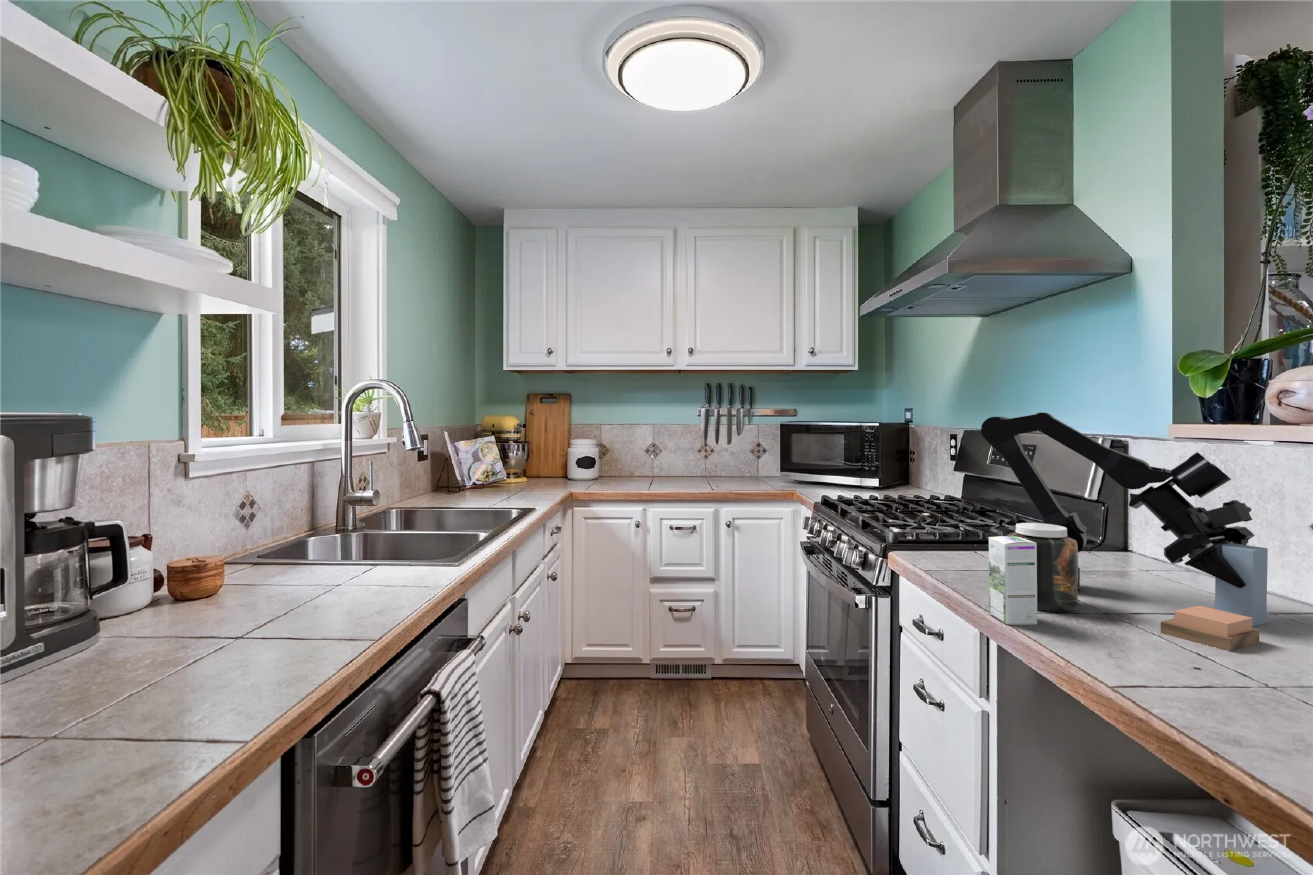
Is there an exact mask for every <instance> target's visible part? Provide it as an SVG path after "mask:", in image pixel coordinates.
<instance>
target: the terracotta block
mask: <svg viewBox="0 0 1313 875" xmlns="http://www.w3.org/2000/svg"><path fill="white" fill-rule="evenodd" d="M1173 612H1174V614H1173V615H1174V617H1173V618H1174V623H1176V624H1180V625H1184V626H1188V627H1192V628H1196V629H1199V630H1203V631H1207V632H1211V633H1215V634H1218V635H1222V636H1226V637H1229V636H1232V635H1236V634H1240V633H1244V632H1248V631H1252V629H1253V627H1252V622H1253V618H1251V617H1247V616H1242V615H1238V614H1234V613H1229V612H1225V611H1221V610H1216V609H1215V608H1211V607H1207V606H1204V605H1196V606H1191V607H1186V608H1183V609H1182V608H1181V609H1177V610H1174V611H1173Z"/></svg>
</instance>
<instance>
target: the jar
mask: <svg viewBox="0 0 1313 875" xmlns="http://www.w3.org/2000/svg"><path fill="white" fill-rule="evenodd" d="M1006 536H1015V537H1020V538H1023V539H1026V540H1029V541H1032V542H1035V543H1037V611H1040V612H1046V613H1048V612H1049V613H1070V612H1071V613H1072V612H1075V611H1078V607H1079V592H1078V588H1079V587H1078V567H1079V552H1078V546H1077V542H1076V540H1074V539H1072V538H1070V537H1067V536H1068V535H1067V528H1066V527H1063V526H1058V525H1052V524H1044V523H1043V522H1042V523H1041V522H1040V523H1039V522H1020V523H1016V524H1015V531H1014V532H1011V533H1008V534H1007V535H1006Z"/></svg>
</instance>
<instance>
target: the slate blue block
mask: <svg viewBox="0 0 1313 875" xmlns="http://www.w3.org/2000/svg"><path fill="white" fill-rule="evenodd" d="M1268 549H1269V548H1268V547H1261V546H1254V545H1241V544H1234V543H1228V544H1222V555H1223V557H1224V558H1225V559H1226V561H1227V562H1228V563H1229V564H1230V565H1231V567H1232V568H1233V569H1234V570H1235V571H1236V572H1237V574H1238V575H1239V576H1240V577H1241V579H1242V580H1243V581H1244V583H1245V584H1246V586H1244V587H1242V588H1238V587H1236V586H1233V585H1231V584H1229V583H1227V582H1225V581H1223V580H1221V579H1218V578H1216V577H1215V581H1214V588H1215V589H1214V609H1216V610H1221V611H1225V612H1229V613H1234V614H1238V615H1242V616H1247V617H1251V618H1253V622H1252V628H1253V627H1256V626H1259V625H1264V624H1267V605H1268V604H1267V601H1268V598H1267V597H1268V563H1269V562H1268V554H1269V553H1268V551H1269V550H1268Z"/></svg>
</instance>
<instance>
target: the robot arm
mask: <svg viewBox="0 0 1313 875" xmlns="http://www.w3.org/2000/svg"><path fill="white" fill-rule="evenodd" d="M1035 432H1041V433H1043V434H1044V435H1046V436H1047V437H1049V438H1050V439H1052V440H1054V441H1056V442H1058V443H1059V444H1060V445H1061V444H1062V446H1065V447H1067V448H1068V449H1070V450H1072V451H1074V452H1075V453H1077V454H1079V455H1080V456H1082V457H1083V458H1086V460H1089V462H1092V463H1093V464H1095V465H1096V466H1097V467H1098V468H1100V470H1102V471H1103V472H1104V473H1105V474H1106V475H1107V476H1108V477H1110V478H1111V479H1112V480H1113V481H1115V482H1116V483H1117V484H1118V485H1120V487H1122V488H1125V489H1128V490H1140V489H1142V488H1145V487H1146V486H1148V484H1158V483H1161V484H1160V485H1158V486H1156V487H1155V486H1153V485H1151V486H1149V487H1147V488H1146V489H1144V490H1143V491H1141V492H1139V493H1129V497H1130V498H1129V502H1128V506H1129V507H1130V508H1133V509H1136V510H1137V509H1139V508H1141V507H1142V506H1144V507H1146V508H1147V509H1148V510H1149V512H1150V513H1152V514H1153V516H1155V517H1156V518H1157V519H1158V520H1159V521H1160V522H1161V523H1162V525H1161V526H1160V528H1161V529H1162V531H1164V532H1171V534H1173V536H1175V537H1176V538H1177V539H1176V540H1174V541H1173V542H1171V543H1170V544H1168V545H1167V546H1165V547H1164V548H1163V556H1164V557H1165V558H1166V559H1167V560H1168V561H1169V563H1170V564H1172V565H1175V564H1181V563H1182V562H1183V561H1184V558H1185V557H1186V556H1187V557H1188V558H1189V559H1188V560H1187V561H1186V562H1184V565H1185V566H1187V567H1191V568H1194V569H1197V570H1198V571H1199V572H1200V571H1201V572H1203V573H1206V574H1208V575H1209V576H1212V577H1216V578H1218V579H1221V580H1223V581H1225V582H1227V583H1229V584H1231V585H1233V586H1236V587H1238V588H1242V587H1244V586H1246V584H1245V583H1244V581H1243V580H1242V579H1241V577H1240V576H1239V575H1238V574H1237V572H1236V571H1235V570H1234V569H1233V568H1232V567H1231V565H1230V564H1229V563H1228V562H1227V561H1226V559H1225V558H1224V557H1223V555H1222V544H1228V543H1234V544H1241V545H1247V544H1248V543H1249V541H1250V540H1251V539H1253V538H1254V537H1255V534H1254V533H1253V532H1252V531H1251V530H1250V529H1248V528H1247V527H1246V526H1239V525H1237V526H1235V525H1234V526H1228V525H1233V524H1237V523H1242V522H1243V523H1244V522H1245V523H1246V522H1250V521H1253V518H1252V516H1251V514H1250V513H1251V512H1252V508H1251V507H1249V506H1248V505H1247V504H1246V503H1245V502H1240V501H1239V500H1237V499H1235V500H1230V501H1225V502H1223V503H1222V506H1220V507H1217V508H1213V509H1210V510H1209V509H1208V510H1207V509H1206V508H1204V507H1201V506H1197V507H1195V506H1194V505H1193V504H1192V503H1191V502H1190V501H1189V500H1188V499H1187V498H1185V497H1184V496H1183V495H1182V494H1181V493H1180V492H1179V491H1178V490H1177V489H1176V488H1175V487H1174V486H1177V488H1179V489H1180V490H1181V491H1182V492H1183V493H1184V494H1185V495H1186V496H1188V497H1189V498H1192V497H1195V496H1198V497H1199V498H1203V497H1205V496H1207V495H1208V494H1209V493H1210V494H1211V492H1213V491H1215V490H1216V489H1218V488H1220V487H1222V486H1223V485H1225V484H1227V483H1228V482H1229V481H1231V480H1232V478H1231V477H1229V476H1228V475H1227V474H1226V473H1225V472H1224V471H1223V470H1222V469H1220V468H1219V467H1218V466H1217V465H1215V463H1212V462H1210V461H1209V460H1208V459H1207V458H1205V457H1204V456H1203V455H1202V454H1200V452H1198V451H1197V452H1194V453H1193V454H1192V455H1190V456H1189V457H1188V458H1187V459H1186V460H1184V461H1183V462H1181V463H1179V465H1177V466H1175V467H1174V468H1172V469H1167V468H1165V467H1163V468H1162V467H1156V466H1150V464H1149V463H1148V462H1146V460H1143V459H1141V458H1137V457H1135V456H1134V455H1133V456H1132V455H1130V454H1126V453H1125V452H1121V451H1118V450H1116V449H1112V448H1110V447H1107V446H1105V445H1104V444H1101V442H1098V441H1096V440H1094V439H1093V438H1091V437H1090V436H1087V435H1086V434H1084V433H1082V432H1080V431H1078V430H1076V429H1075V428H1073V427H1072V426H1070V425H1068V424H1066V423H1064V422H1062V421H1061V420H1059V419H1057V418H1055V417H1054V416H1053V415H1052V414H1051V413H1048V412H1036V413H1034V414H1029V415H1025V416H1018V417H1011V418H1009V417H1007V416H990V417H988V418H986V419H985V420H984V421H983V422H982V424H981V427H980V434H981V436H982V437H983V439H984V440H985V441H986V442H987V443H988V444H989V446H991V447H992V448H993V449H994V450H995V451H996V452H997V453H998V454H999V455H1000V456H1001V457H1002V458H1003V459H1004V460H1005V461H1006V463H1007V465H1008V466H1009V468H1010V469H1011V471H1012V472H1013V474H1014V475H1015V477H1016V478H1017V480H1018V482H1019V484H1021V486H1022V488H1023V489H1024V491H1025V493H1026V494H1027V496H1028V497H1029V499H1030V500H1031V502H1032V503H1033V505H1034V507H1035V509H1036V510H1037V512H1038V513H1039V515H1040V516H1041V519H1042V523H1043V524H1052V525H1058V526H1063V527H1066V528H1067V535H1068V536H1067V537H1070V538H1072V539H1074V540H1076V542H1077V546H1078V553H1080V552H1081V551H1082V549H1084V547H1085V545H1086V544H1087V541H1088V535H1087V533H1086V531H1087V530H1088V528H1087V526H1085V525H1084V524H1083V522H1082V521H1081V519H1080V517H1079V515H1078V513H1077V511H1073V512H1072V513H1070V514H1069V513H1068V512H1067V511H1066V510H1065V509H1064V508H1063V507H1062V506H1061V505H1060V503H1059V502H1058V501H1057V500H1058V499H1056V497H1055V496H1054V494H1053V493H1052V491H1051V490H1050V487H1048V485H1047V483H1046V482H1045V481H1044V479H1043V477H1042V476H1041V474H1040V473H1039V471H1038V469H1037V468H1036V467H1035V464H1033V462H1032V460H1031V459H1030V457H1029V456H1028V455H1027V453H1026V451H1025V449H1024V447H1023V443H1022V440H1021V436H1020V435H1023V434H1028V433H1035ZM1227 526H1228V527H1227ZM1080 573H1081V568H1080V567H1079V566H1078V593H1080V592H1081V589H1080V588H1079V587H1080V585H1081V582H1080V581H1081V578H1080V577H1081V574H1080Z"/></svg>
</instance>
